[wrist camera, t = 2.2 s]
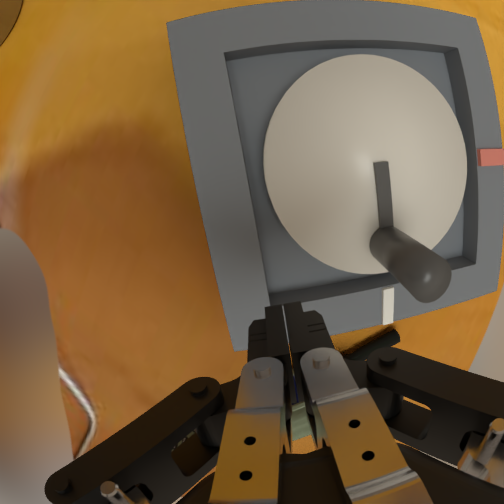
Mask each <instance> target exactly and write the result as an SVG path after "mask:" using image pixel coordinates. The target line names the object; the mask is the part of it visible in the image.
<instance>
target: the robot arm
mask: <svg viewBox="0 0 504 504" xmlns="http://www.w3.org/2000/svg"><path fill="white" fill-rule="evenodd" d="M21 4H22V0H0V45H1V44H2V42H3V41H4V39H5V38H6V37H7V35H8V34H9V32H10V30H11V29H12V27H13V25H14V23H15V21H16V19H17V17H18V14H19V11H20V8H21ZM283 306H284V313H285V319H286V326H287V332H288V339H289V345H290V351H291V357H292V364H293V370H294V376H295V382H296V388H297V394H298V401H299V402H303V401H304V402H305V407H306V416H307V421H308V424H309V428H310V431H311V435H312V438H313V442H314V445H315V449H316V450H315V451H313V452H310V453H307V454H292V417H291V415H292V403H297V400H296V393H295V386H294V379H293V372H292V365H291V358H290V351H289V345H288V339H287V333H286V327H285V321H284V315H283V309H282V304H279V305H273V306H267V307H265V319H258V320H254V321H253V322H252V323H251V325H250V326H249V328H248V360H247V364H246V365H245V366H244V367H243V369H242V371H241V376H240V377H238V378H237V379H235V380H233V381H230V382H227V383H224V384H221V385H220V384H219V382H218V381H217V380H215V379H213V378H210V377H198V378H194V379H192V380H189V381H188V382H186V383H185V384H183V385H182V386H181V387H179V388H178V389H177V390H175V391H174V392H173V393H171V394H170V395H169V396H167V397H166V398H164V399H163V400H162V401H160V402H159V403H158V404H156V405H155V406H153V407H152V408H151V409H149V410H148V411H147V412H145V413H144V414H142V415H141V416H139V417H138V418H137V419H135V420H134V421H132V422H131V423H130V424H128V425H127V426H125V427H124V428H122V429H121V430H119V431H118V432H117V433H115V434H114V435H112V436H111V437H109V438H108V439H106V440H105V441H103V442H102V443H100V444H99V445H97V446H96V447H94V448H93V449H91V450H90V451H88V452H87V453H85V454H84V455H82V456H80V457H79V458H77V459H76V460H74V461H73V462H71V463H69V464H68V465H66V466H65V467H63V468H61V469H60V470H58V471H57V472H55V473H54V474H52V475H51V476H50V477H49V478H48V480H47V482H46V484H45V494H46V497H47V499H48V500H49V501H50V502H52V504H172V503H173V502H174V501H176V500H177V499H178V498H179V497H180V496H182V495H183V494H184V493H185V492H186V491H188V490H189V489H190V488H191V487H192V486H193V485H195V484H196V483H197V482H198V481H199V480H200V479H201V478H203V477H204V476H205V475H206V474H207V473H208V472H209V471H210V470H212V469H213V468H214V467H215V466H216V465H217V466H216V471H215V472H213V473H212V474H210V475H208V476H207V477H205V478H204V479H203V480H201V481H200V482H199V483H198V484H197V485H196V486H195V487H194V488H193V489H192V490H190V491H189V492H188V493H187V494H186V495H185V496H184V497H183V498H182V499H180V500H179V501H178V502H177V503H176V504H504V382H500V381H497V380H493V379H490V378H487V377H484V376H481V375H477V374H474V373H471V372H468V371H465V370H461V369H458V368H455V367H452V366H449V365H446V364H443V363H440V362H437V361H434V360H431V359H428V358H425V357H422V356H419V355H416V354H413V353H410V352H407V351H404V350H401V349H398V348H394V347H384V348H379V349H377V350H375V351H373V352H372V353H370V355H369V356H368V358H367V361H355V360H348V359H345V358H343V357H342V355H341V354H340V353H339V352H338V351H337V350H335V348H334V346H333V343H332V340H331V338H330V335H329V332H328V330H327V327H326V325H325V322H324V319H323V317H322V315H321V314H319V313H318V312H317V311H315V310H312V311H306V312H303V308H302V305H301V302H300V301H296V302H290V303H285V304H283ZM403 397H407V398H409V399H412V400H414V401H417V402H419V403H422V404H424V405H426V406H428V407H429V408H430V409H431V410H428V409H425V408H423V407H420V406H418V405H416V404H413V403H411V402H408V401H406V400H403ZM193 430H195V433H194V434H193V435H191V436H190V437H189V438H188V439H187V440H185V441H184V442H183V443H182V444H180V445H179V446H178V447H177V448H176V449H174V450H173V451H172V449H173V448H174V446H175V445H176V444H177V443H179V442H180V441H181V440H182V439H184V438H185V437H186V436H187V435H188V434H190V433H191V432H192V431H193ZM394 439H396V440H398V441H400V442H402V443H405V444H407V445H409V446H407V445H404V444H400V443H396V442H395V440H394ZM410 446H411V447H410ZM412 447H413V448H412ZM414 448H416V449H418V450H420V451H422V452H425V453H427V454H429V455H431V456H434V457H436V458H439V459H441V460H443V461H446V462H448V463H451V464H453V465H456V466H458V469H456V468H454V467H452V466H450V465H447V464H445V463H443V462H441V461H439V460H437V459H435V458H432V457H430V456H428V455H426V454H424V453H422V452H420V451H418V450H416V449H414Z"/></svg>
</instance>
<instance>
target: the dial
mask: <svg viewBox="0 0 504 504" xmlns="http://www.w3.org/2000/svg"><path fill="white" fill-rule="evenodd" d="M263 170H264V179H265V183H266V187H267V191H268V194H269V197H270V199H271V202H272V204H273V207H274V210H275V212H276V214H277V215H278V217H279V219H280V221H281V223H282V225H283V226H284V227H285V229H286V230H287V232H288V233H289V234H290V236H291V237H292V238H293V239H294V240H295V241H296V242H297V243H298V244H299V245H300V246H301V247H302V248H303V249H304V250H305V251H307V252H308V253H309V254H310V255H311V256H313V257H314V258H316V259H318V260H319V261H321V262H323V263H324V264H327V265H329V266H331V267H334V268H336V269H339V270H343V271H346V272H351V273H358V274H378V273H385V272H390V273H391V274H392V275H393V276H394V277H395V278H396V279H397V280H398V281H399V282H400V283H401V284H402V285H403V286H404V287H405V288H406V289H407V290H408V291H409V292H410V293H411V295H412V296H413V297H414V298H415V299H416V300H418V301H419V302H422V303H431V302H434V301H436V300H437V299H439V298H440V297H441V296H442V295H443V294H444V293H445V292H446V290H447V288H448V287H449V284H450V281H451V276H452V272H451V267H450V265H449V263H448V262H447V260H445V259H444V258H442V257H441V256H439V255H438V254H436V253H435V252H433V251H432V249H433V248H434V247H435V246H436V245H437V244H438V243H439V242H440V240H441V239H442V238H443V237H444V235H445V234H446V233H447V231H448V230H449V228H450V227H451V225H452V223H453V222H454V220H455V218H456V215H457V213H458V211H459V209H460V206H461V203H462V200H463V196H464V191H465V186H466V178H467V156H466V149H465V143H464V139H463V135H462V131H461V129H460V126H459V123H458V121H457V119H456V117H455V115H454V113H453V111H452V109H451V107H450V106H449V104H448V103H447V101H446V100H445V98H444V97H443V95H442V94H441V93H440V92H439V91H438V90H437V88H436V87H435V86H434V85H433V84H432V83H431V82H430V81H428V80H427V79H426V78H425V77H424V76H423V75H421V74H420V73H418V72H417V71H415V70H414V69H412V68H410V67H409V66H407V65H405V64H403V63H401V62H398V61H395V60H393V59H390V58H386V57H382V56H377V55H367V54H355V55H346V56H341V57H337V58H333V59H331V60H328V61H326V62H323V63H321V64H319V65H317V66H315V67H314V68H312V69H310V70H309V71H307V72H306V73H305V74H304V75H302V76H301V77H300V78H299V79H298V80H296V81H295V82H294V84H293V85H292V86H291V87H290V88H289V89H288V90H287V91H286V93H285V94H284V96H283V97H282V99H281V101H280V102H279V104H278V105H277V107H276V108H275V111H274V113H273V115H272V117H271V119H270V122H269V125H268V128H267V131H266V135H265V141H264V147H263Z"/></svg>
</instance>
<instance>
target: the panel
mask: <svg viewBox="0 0 504 504" xmlns="http://www.w3.org/2000/svg"><path fill="white" fill-rule="evenodd" d="M166 24H167V31H168V37H169V44H170V50H171V56H172V63H173V69H174V75H175V81H176V86H177V92H178V98H179V103H180V109H181V114H182V120H183V125H184V131H185V136H186V141H187V146H188V151H189V156H190V162H191V166H192V171H193V176H194V181H195V186H196V191H197V196H198V200H199V205H200V210H201V214H202V219H203V223H204V228H205V232H206V237H207V241H208V246H209V250H210V255H211V259H212V263H213V267H214V272H215V276H216V280H217V284H218V289H219V293H220V297H221V301H222V305H223V309H224V313H225V317H226V321H227V325H228V329H229V333H230V337H231V341H232V344H233V348H234V351H241V350H248V328H249V326H250V325H251V323H252V322H253V321H254V320H258V319H265V307H267V306H273V305H279V304H282V309H283V315H284V321H285V327H286V333H287V339H288V332H287V326H286V319H285V313H284V306H283V304H285V303H290V302H296V301H300V302H301V305H302V308H303V312H306V311H312V310H315V311H317V312H318V313H319V314H321V315H322V317H323V319H324V322H325V325H326V327H327V330H328V332H329V335H330V336H331V335H336V334H340V333H345V332H350V331H354V330H359V329H363V328H368V327H372V326H376V325H381V324H383V325H386V324H390V323H393V321H397V320H401V319H405V318H408V317H412V316H416V315H420V314H423V313H427V312H430V311H434V310H437V309H441V308H444V307H448V306H451V305H454V304H458V303H461V302H464V301H467V300H470V299H473V298H477V297H480V296H483V295H486V294H488V293H491V292H494V291H497V286H498V279H499V272H500V263H501V253H502V242H503V225H504V168H503V165H504V149H502V140H501V131H500V122H499V115H498V108H497V102H496V96H495V91H494V85H493V80H492V76H491V71H490V67H489V63H488V58H487V55H486V51H485V47H484V43H483V40H482V37H481V33H480V30H479V27H478V24H477V21H476V18H473V17H470V16H466V15H462V14H457V13H453V12H448V11H443V10H438V9H433V8H427V7H421V6H414V5H407V4H399V3H390V2H379V1H364V0H300V1H285V2H274V3H264V4H256V5H249V6H242V7H235V8H229V9H224V10H218V11H213V12H208V13H203V14H199V15H195V16H190V17H186V18H182V19H178V20H174V21H171V22H167V23H166ZM355 54H367V55H377V56H382V57H386V58H390V59H393V60H395V61H398V62H401V63H403V64H405V65H407V66H409V67H410V68H412V69H414V70H415V71H417V72H418V73H420V74H421V75H423V76H424V77H425V78H426V79H427V80H428V81H430V82H431V83H432V84H433V85H434V86H435V87H436V88H437V90H438V91H439V92H440V93H441V94H442V95H443V97H444V98H445V100H446V101H447V103H448V104H449V106H450V107H451V109H452V111H453V113H454V115H455V117H456V119H457V121H458V123H459V126H460V129H461V131H462V135H463V139H464V143H465V149H466V156H467V178H466V186H465V191H464V196H463V200H462V203H461V206H460V209H459V211H458V213H457V215H456V218H455V220H454V222H453V223H452V225H451V227H450V228H449V230H448V231H447V233H446V234H445V235H444V237H443V238H442V239H441V240H440V242H439V243H438V244H437V245H436V246H435V247H434V248H433V249H432V251H433V252H435V253H436V254H438V255H439V256H441V257H442V258H444V259H445V260H447V262H448V263H449V265H450V267H451V272H452V276H451V281H450V284H449V287H448V288H447V290H446V292H445V293H444V294H443V295H442V296H441V297H440V298H439V299H437V300H436V301H434V302H431V303H422V302H419V301H418V300H416V299H415V298H414V297H413V296H412V295H411V293H410V292H409V291H408V290H407V289H406V288H405V287H404V286H403V285H402V284H401V283H400V282H399V281H398V280H397V279H396V278H395V277H394V276H393V275H392V274H391V273H390V272H385V273H378V274H358V273H351V272H346V271H343V270H339V269H336V268H334V267H331V266H329V265H327V264H324V263H323V262H321V261H319V260H318V259H316V258H314V257H313V256H311V255H310V254H309V253H308V252H307V251H305V250H304V249H303V248H302V247H301V246H300V245H299V244H298V243H297V242H296V241H295V240H294V239H293V238H292V237H291V236H290V234H289V233H288V232H287V230H286V229H285V227H284V226H283V225H282V223H281V221H280V219H279V217H278V215H277V214H276V212H275V210H274V207H273V204H272V202H271V199H270V197H269V194H268V191H267V187H266V183H265V179H264V170H263V147H264V141H265V135H266V131H267V128H268V125H269V122H270V119H271V117H272V115H273V113H274V111H275V108H276V107H277V105H278V104H279V102H280V101H281V99H282V97H283V96H284V94H285V93H286V91H287V90H288V89H289V88H290V87H291V86H292V85H293V84H294V82H295V81H296V80H298V79H299V78H300V77H301V76H302V75H304V74H305V73H306V72H307V71H309V70H310V69H312V68H314V67H315V66H317V65H319V64H321V63H323V62H326V61H328V60H331V59H333V58H337V57H341V56H346V55H355ZM288 343H289V339H288Z"/></svg>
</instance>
